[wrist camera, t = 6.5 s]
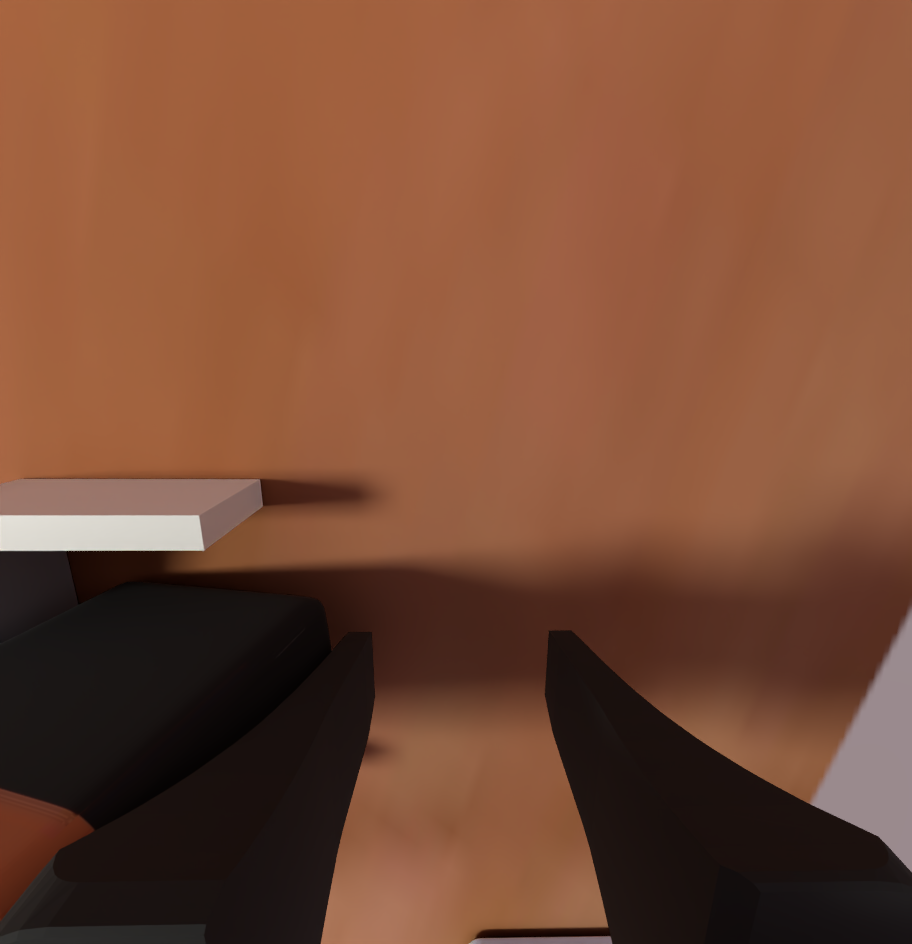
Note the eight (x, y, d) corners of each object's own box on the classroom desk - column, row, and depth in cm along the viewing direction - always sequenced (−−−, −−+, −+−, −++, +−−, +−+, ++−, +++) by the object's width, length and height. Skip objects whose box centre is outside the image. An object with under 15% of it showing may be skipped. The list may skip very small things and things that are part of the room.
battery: (353, 732, 12) (-481, 2135, 2) (163, 697, 14) (-725, 1428, 4) (331, 589, 11) (-1268, 2105, 1) (127, 573, 13) (-1138, 1182, 3)
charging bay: (290, 757, 14) (243, 871, 11) (86, 759, 14) (-21, 874, 11) (260, 479, 12) (190, 520, 9) (16, 478, 12) (-144, 520, 9)
